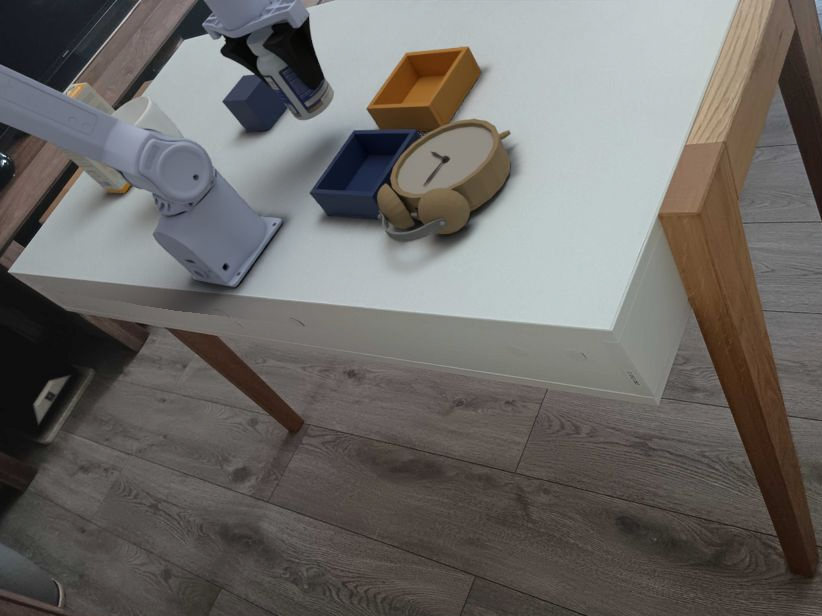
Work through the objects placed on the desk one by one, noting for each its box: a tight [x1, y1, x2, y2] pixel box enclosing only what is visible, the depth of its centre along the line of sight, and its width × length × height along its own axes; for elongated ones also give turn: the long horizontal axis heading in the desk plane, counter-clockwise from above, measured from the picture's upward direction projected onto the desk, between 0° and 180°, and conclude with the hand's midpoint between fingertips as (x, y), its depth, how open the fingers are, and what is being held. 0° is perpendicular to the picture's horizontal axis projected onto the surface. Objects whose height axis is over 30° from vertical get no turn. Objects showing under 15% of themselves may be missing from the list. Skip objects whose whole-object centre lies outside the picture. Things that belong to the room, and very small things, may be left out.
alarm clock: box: [377, 118, 512, 243], centre depth 71 cm, size 11×5×15 cm
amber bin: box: [365, 46, 482, 132], centre depth 83 cm, size 9×9×3 cm
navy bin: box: [309, 129, 422, 220], centre depth 78 cm, size 9×9×3 cm
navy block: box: [221, 73, 288, 132], centre depth 99 cm, size 5×5×5 cm
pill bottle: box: [247, 28, 335, 121], centre depth 82 cm, size 5×5×10 cm
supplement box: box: [53, 82, 132, 194], centre depth 105 cm, size 8×5×13 cm, turn 152°
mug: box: [111, 95, 185, 138], centre depth 94 cm, size 12×8×11 cm
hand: (300, 84), depth 83 cm, fingers closed on pill bottle, 5 cm apart
